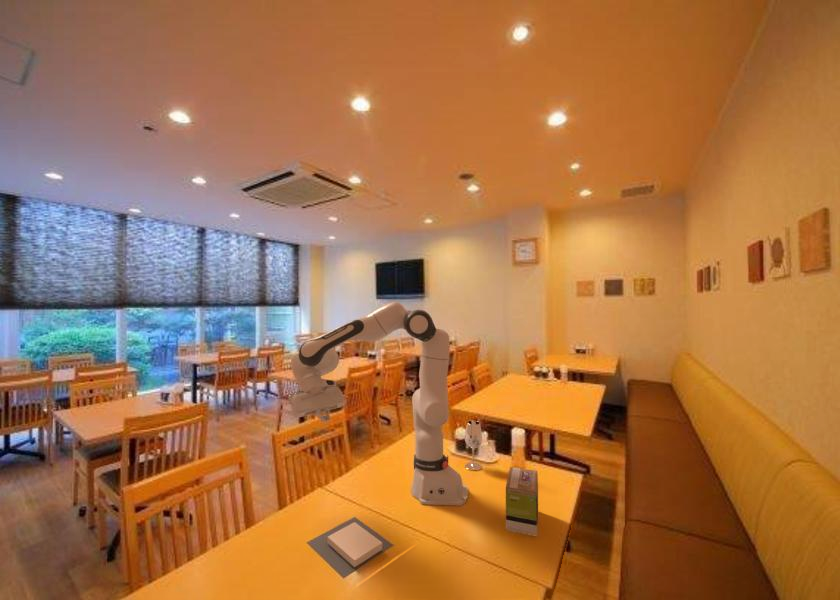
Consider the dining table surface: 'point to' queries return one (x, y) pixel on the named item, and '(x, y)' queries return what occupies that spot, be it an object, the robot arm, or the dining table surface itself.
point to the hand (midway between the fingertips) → (326, 421)
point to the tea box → (522, 501)
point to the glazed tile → (354, 544)
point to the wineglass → (473, 441)
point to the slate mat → (334, 557)
